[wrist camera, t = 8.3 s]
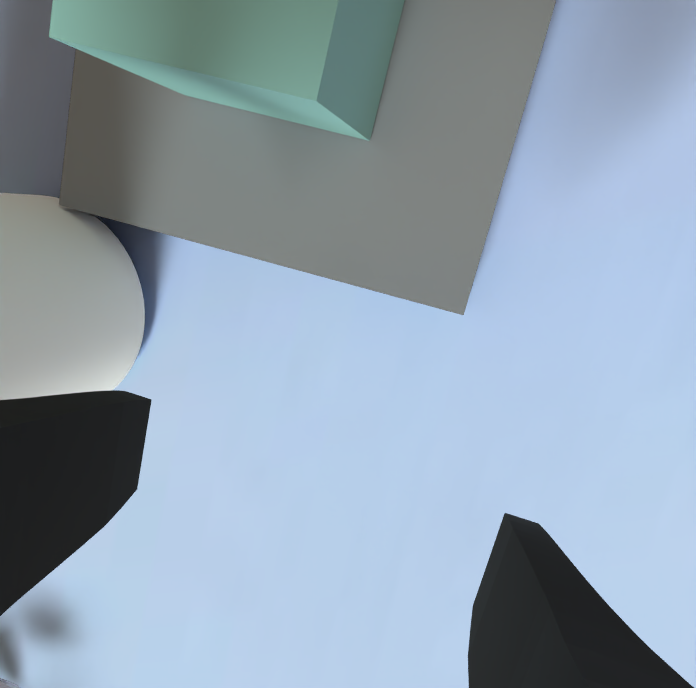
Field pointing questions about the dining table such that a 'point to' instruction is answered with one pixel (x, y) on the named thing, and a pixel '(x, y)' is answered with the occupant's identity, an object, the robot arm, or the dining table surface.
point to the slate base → (325, 158)
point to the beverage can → (64, 301)
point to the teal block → (248, 52)
